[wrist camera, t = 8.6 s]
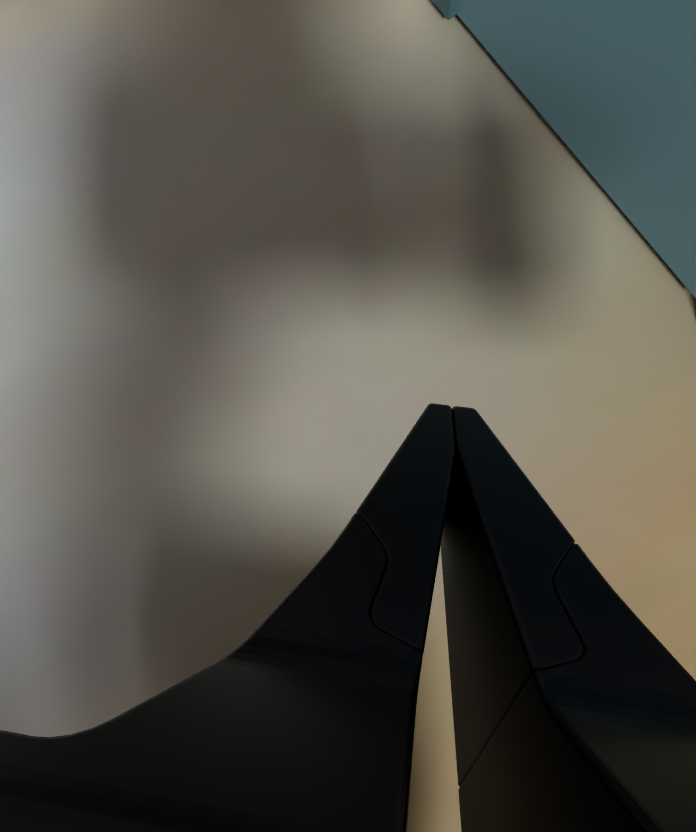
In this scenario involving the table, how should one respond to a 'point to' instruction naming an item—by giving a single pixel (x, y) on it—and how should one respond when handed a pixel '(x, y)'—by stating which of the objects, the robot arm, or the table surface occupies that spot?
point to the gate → (611, 99)
